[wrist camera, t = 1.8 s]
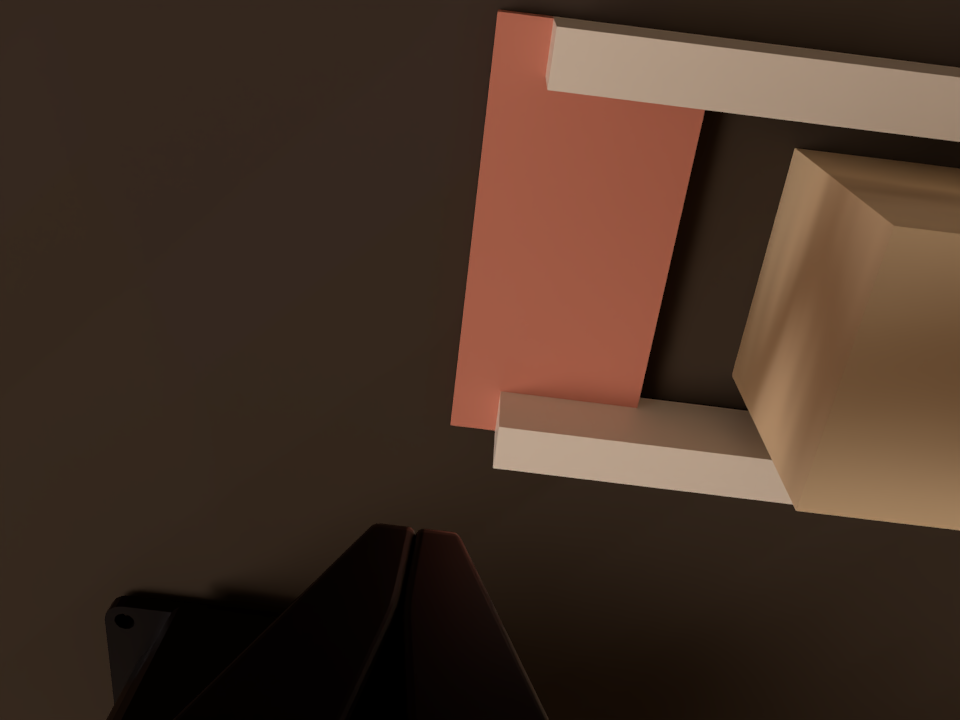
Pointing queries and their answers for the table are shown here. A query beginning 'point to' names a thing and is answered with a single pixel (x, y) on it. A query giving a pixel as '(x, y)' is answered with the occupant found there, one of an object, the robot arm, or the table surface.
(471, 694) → the robot arm
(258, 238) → the table surface
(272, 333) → the table surface
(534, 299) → the channel
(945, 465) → the pine block
